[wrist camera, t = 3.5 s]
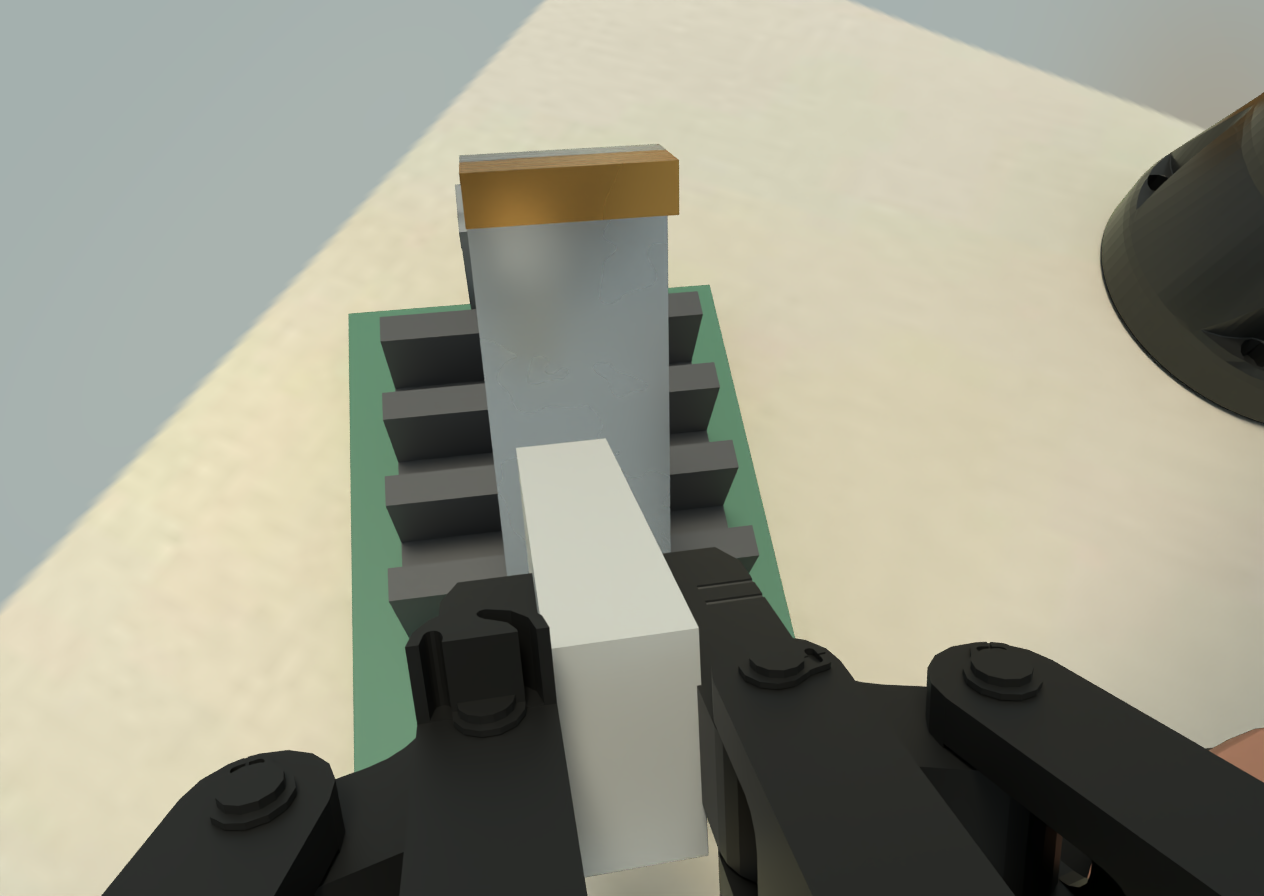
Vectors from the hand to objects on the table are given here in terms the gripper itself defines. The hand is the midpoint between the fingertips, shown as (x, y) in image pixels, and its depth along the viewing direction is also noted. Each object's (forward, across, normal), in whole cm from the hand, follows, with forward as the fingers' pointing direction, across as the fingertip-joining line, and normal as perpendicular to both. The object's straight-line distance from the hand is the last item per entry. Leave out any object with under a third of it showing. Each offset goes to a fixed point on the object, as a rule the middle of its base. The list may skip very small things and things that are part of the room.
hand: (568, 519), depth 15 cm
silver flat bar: (+6, +1, -1) cm, 6 cm away
